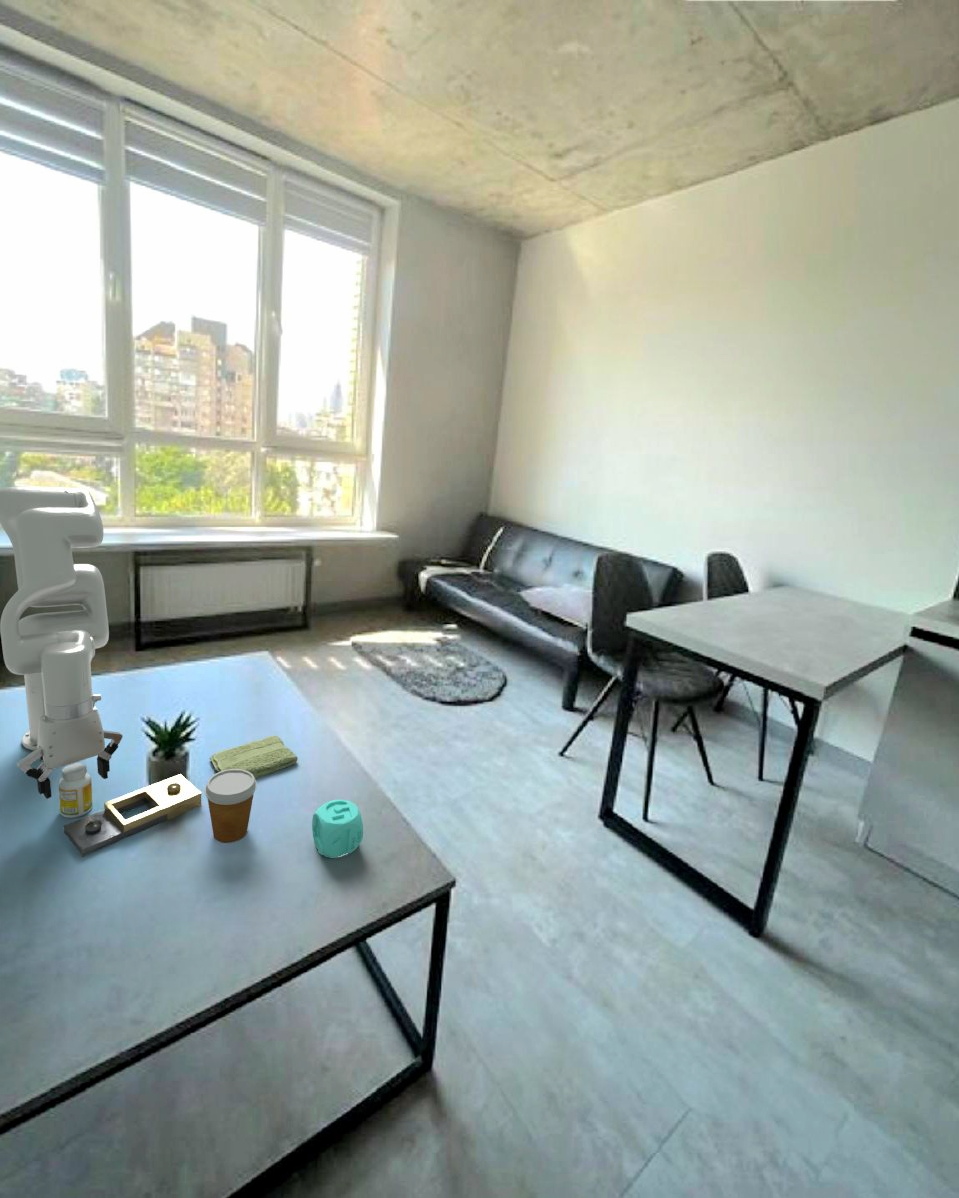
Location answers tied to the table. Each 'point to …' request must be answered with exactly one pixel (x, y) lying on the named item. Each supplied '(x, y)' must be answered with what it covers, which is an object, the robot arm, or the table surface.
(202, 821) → the table surface
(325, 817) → the decorative dice
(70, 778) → the supplement bottle
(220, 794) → the disposable coffee cup
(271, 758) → the washcloth
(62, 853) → the table surface
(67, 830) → the holed plate
